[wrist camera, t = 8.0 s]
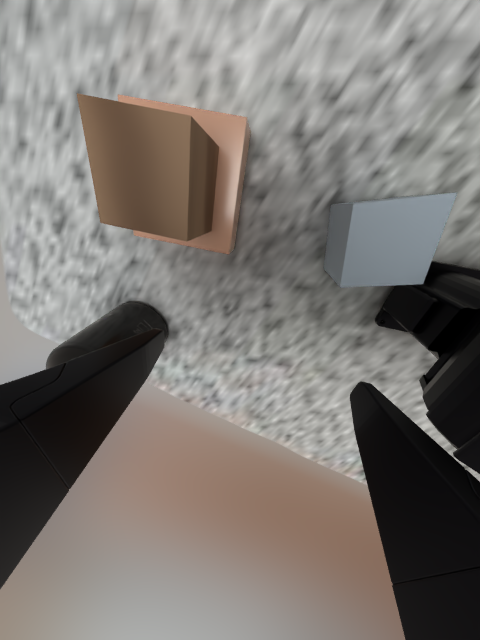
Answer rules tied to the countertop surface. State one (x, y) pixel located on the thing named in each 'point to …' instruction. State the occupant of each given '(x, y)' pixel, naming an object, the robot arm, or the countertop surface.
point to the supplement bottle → (108, 332)
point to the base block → (230, 172)
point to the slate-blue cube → (385, 239)
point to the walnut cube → (150, 168)
